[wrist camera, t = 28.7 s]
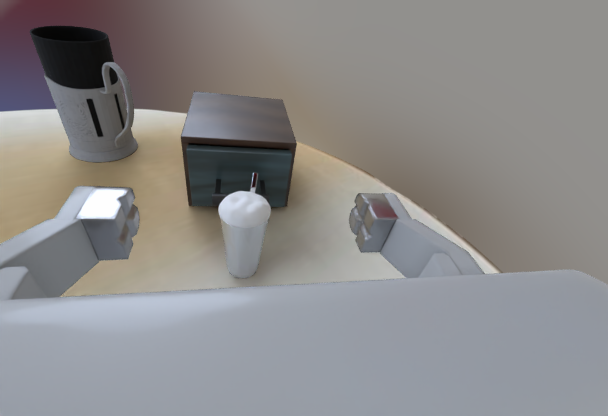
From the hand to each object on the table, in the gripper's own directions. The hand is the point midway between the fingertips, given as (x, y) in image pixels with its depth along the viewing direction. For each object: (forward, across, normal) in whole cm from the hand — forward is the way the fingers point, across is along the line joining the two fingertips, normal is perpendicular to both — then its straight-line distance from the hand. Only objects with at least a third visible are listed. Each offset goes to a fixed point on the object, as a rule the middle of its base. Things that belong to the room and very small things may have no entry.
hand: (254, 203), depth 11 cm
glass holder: (+33, +18, +19) cm, 42 cm away
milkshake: (+12, 0, +18) cm, 22 cm away
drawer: (+24, 0, +17) cm, 30 cm away
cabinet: (+28, 0, +18) cm, 34 cm away
